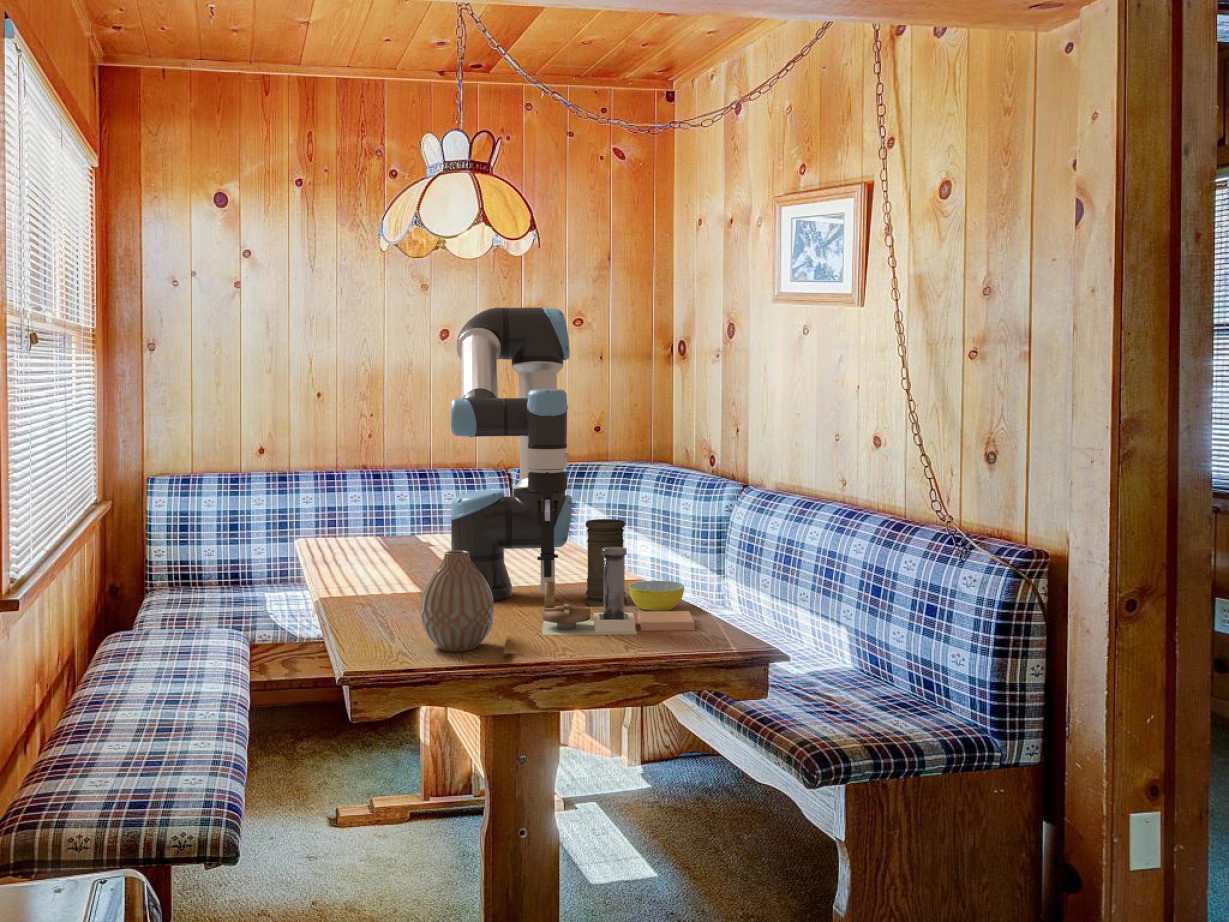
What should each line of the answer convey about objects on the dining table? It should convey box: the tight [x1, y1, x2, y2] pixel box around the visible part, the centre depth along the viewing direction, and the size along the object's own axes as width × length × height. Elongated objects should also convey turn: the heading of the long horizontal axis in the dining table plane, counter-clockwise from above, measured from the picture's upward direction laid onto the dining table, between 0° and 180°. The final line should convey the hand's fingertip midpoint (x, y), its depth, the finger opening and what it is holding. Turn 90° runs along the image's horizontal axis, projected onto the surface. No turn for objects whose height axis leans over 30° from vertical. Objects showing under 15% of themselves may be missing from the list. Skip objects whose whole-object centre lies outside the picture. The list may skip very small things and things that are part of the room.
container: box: [584, 518, 627, 608], centre depth 256 cm, size 9×9×18 cm
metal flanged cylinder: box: [601, 546, 628, 620], centre depth 226 cm, size 5×5×15 cm
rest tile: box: [637, 610, 695, 632], centre depth 229 cm, size 10×10×3 cm
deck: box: [541, 612, 638, 636], centre depth 226 cm, size 18×12×4 cm
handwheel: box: [542, 582, 591, 623], centre depth 226 cm, size 9×9×6 cm
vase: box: [420, 550, 495, 653], centre depth 216 cm, size 13×13×18 cm
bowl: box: [628, 580, 685, 612], centre depth 245 cm, size 11×12×6 cm
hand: (547, 592), depth 229 cm, fingers closed
